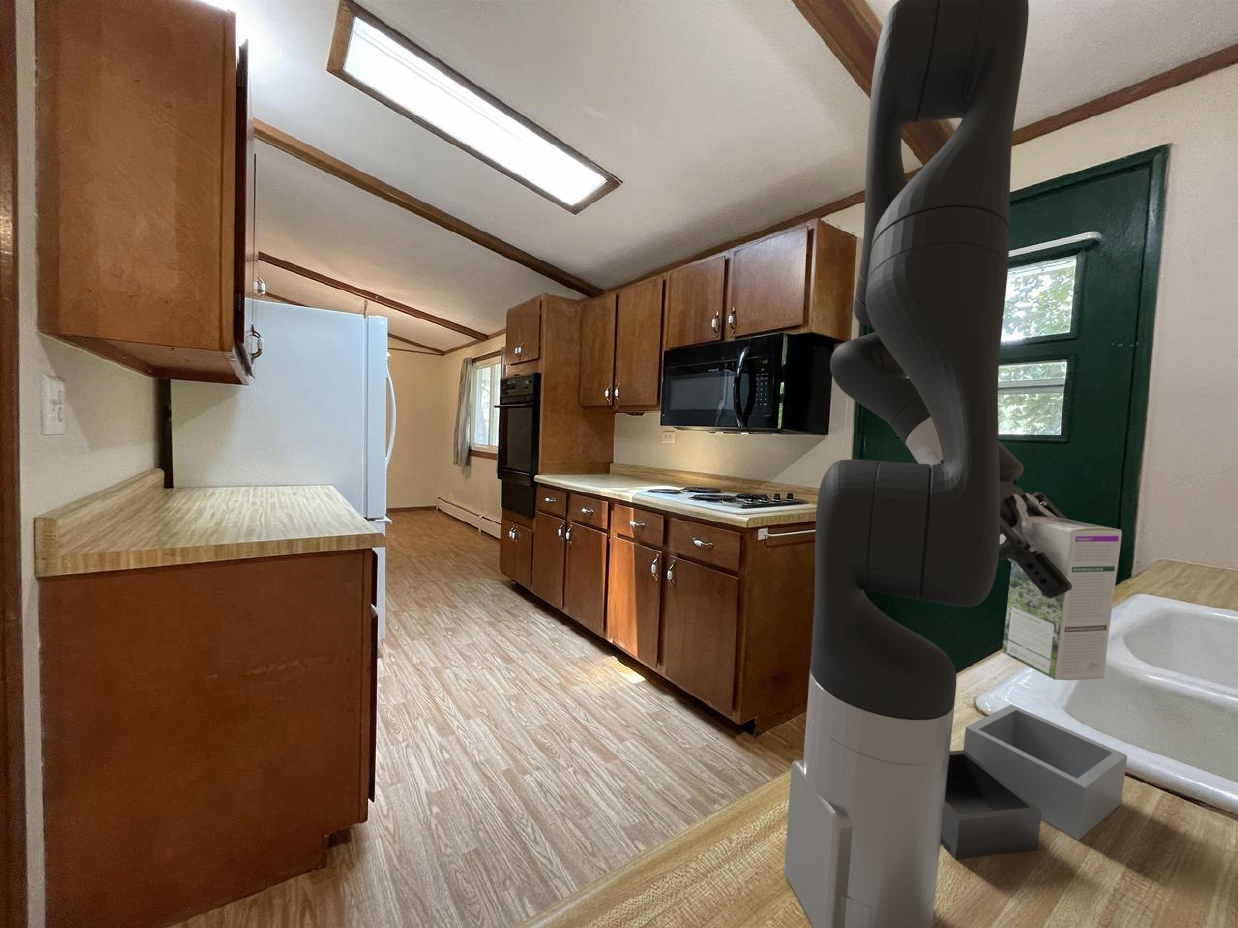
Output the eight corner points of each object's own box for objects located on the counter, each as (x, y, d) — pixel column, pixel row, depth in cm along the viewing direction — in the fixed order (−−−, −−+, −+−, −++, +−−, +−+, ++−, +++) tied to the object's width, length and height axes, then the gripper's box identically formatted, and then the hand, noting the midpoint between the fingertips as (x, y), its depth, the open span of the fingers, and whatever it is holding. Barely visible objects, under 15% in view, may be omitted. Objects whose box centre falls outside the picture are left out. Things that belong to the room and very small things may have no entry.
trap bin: (955, 858, 42) (959, 819, 42) (889, 788, 50) (892, 755, 49) (1037, 849, 43) (1041, 811, 43) (960, 782, 51) (963, 749, 51)
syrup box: (1107, 679, 47) (1127, 528, 46) (1053, 681, 46) (1072, 527, 45) (1047, 651, 53) (1064, 516, 52) (998, 653, 52) (1014, 515, 51)
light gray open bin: (1078, 840, 44) (1085, 787, 44) (961, 772, 53) (965, 726, 52) (1120, 803, 49) (1127, 755, 48) (1006, 746, 57) (1011, 704, 57)
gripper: (952, 432, 51) (1088, 578, 42) (1021, 435, 58) (1150, 561, 49) (897, 478, 56) (1007, 617, 47) (966, 475, 63) (1073, 596, 54)
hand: (1079, 588), depth 48 cm, fingers closed on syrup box, 7 cm apart
